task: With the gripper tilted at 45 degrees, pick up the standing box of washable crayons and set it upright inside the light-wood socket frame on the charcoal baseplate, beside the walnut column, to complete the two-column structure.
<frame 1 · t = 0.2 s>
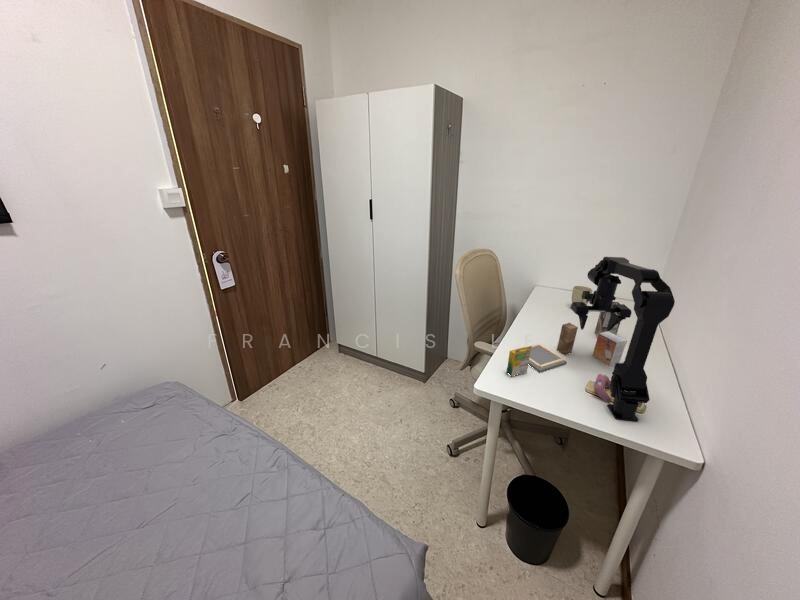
hand: (594, 330, 124), 15 cm above the table, tool pointing down, fingers open, 9 cm apart
walnut column: (563, 351, 137), on the table
baseplate: (538, 359, 132), on the table
crayon box: (516, 373, 123), on the table
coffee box: (603, 338, 149), on the table
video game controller: (602, 393, 114), on the table
small box: (605, 360, 133), on the table
mug: (578, 311, 176), on the table
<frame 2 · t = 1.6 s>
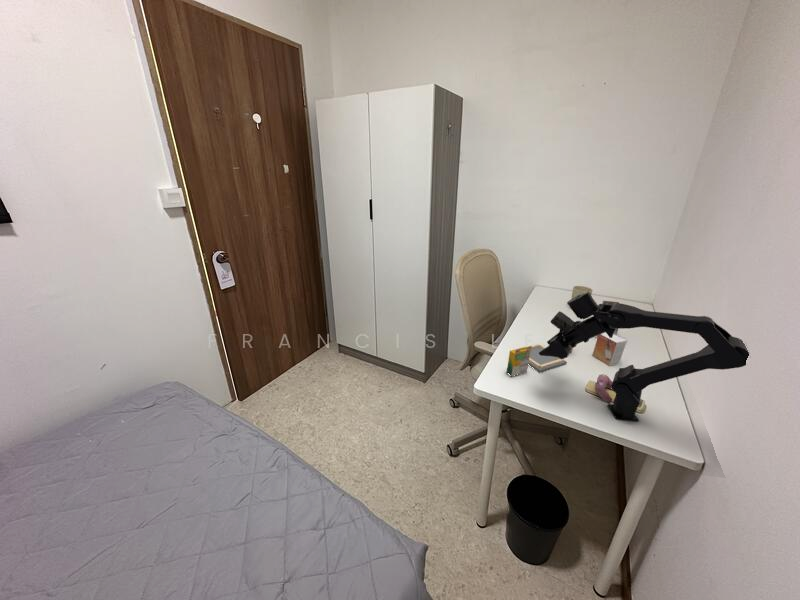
hand: (543, 348, 114), 13 cm above the table, tool tilted 45°, fingers open, 9 cm apart
nothing on the table moved.
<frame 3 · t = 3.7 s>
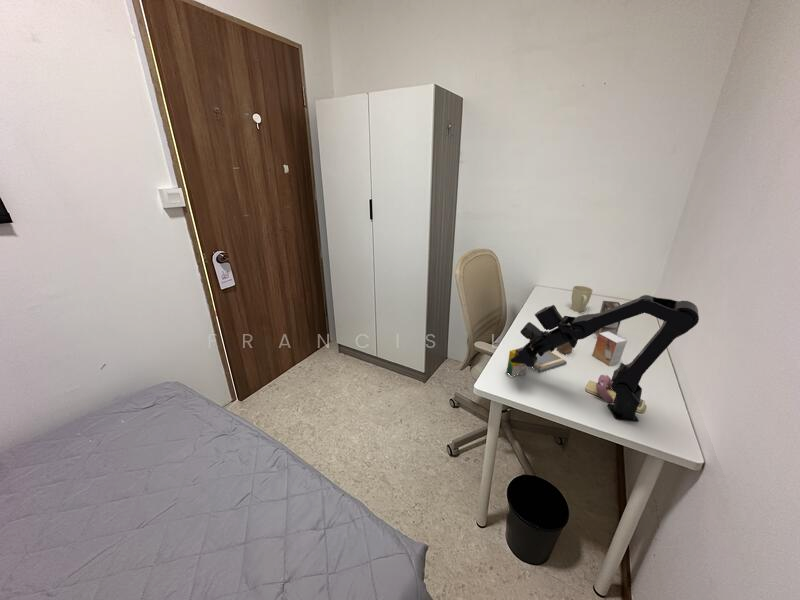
hand: (515, 356, 121), 7 cm above the table, tool tilted 45°, fingers closed on crayon box, 8 cm apart
crayon box: (516, 373, 123), on the table, touching gripper
everything else where it was.
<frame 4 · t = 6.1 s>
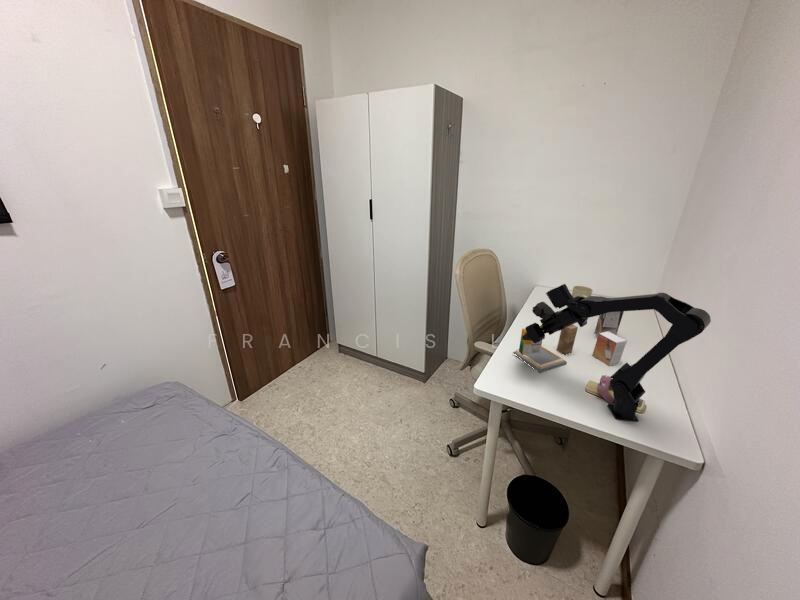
hand: (528, 335, 124), 12 cm above the table, tool tilted 45°, fingers closed on crayon box, 7 cm apart
crayon box: (529, 352, 126), point 5 cm above the table, touching gripper
when the fingers open (9 cm above the table, at t = 8.0 s): crayon box drops 1 cm, resting on baseplate.
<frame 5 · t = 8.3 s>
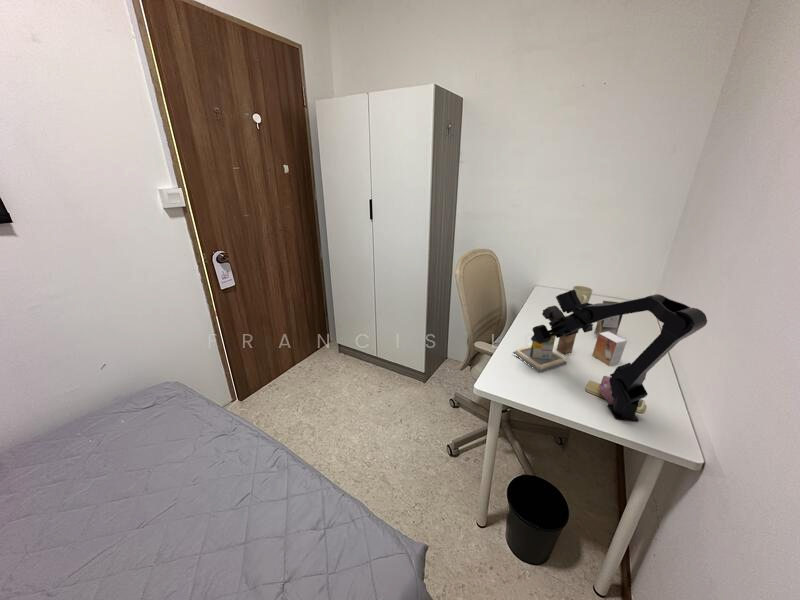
hand: (540, 337, 129), 9 cm above the table, tool tilted 45°, fingers open, 9 cm apart
crayon box: (540, 357, 131), point 1 cm above the table, touching baseplate
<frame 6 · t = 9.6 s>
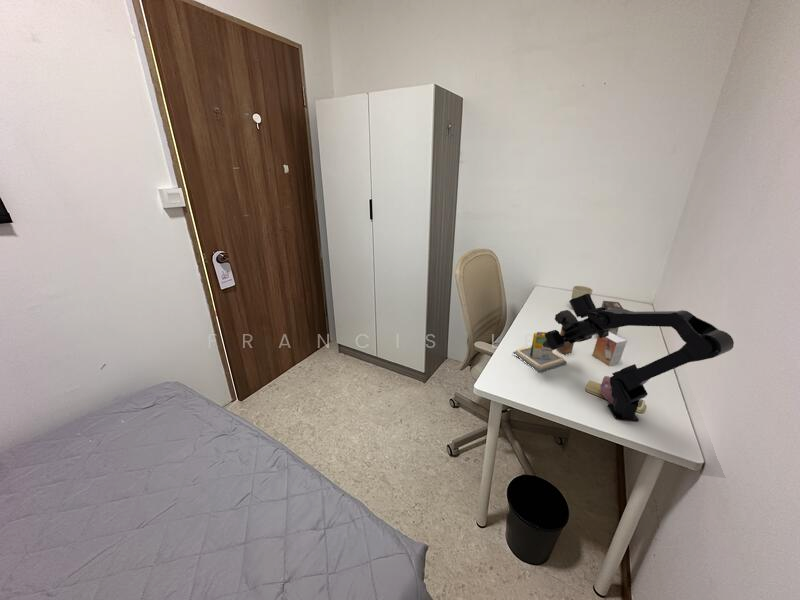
hand: (552, 342, 125), 10 cm above the table, tool tilted 45°, fingers open, 9 cm apart
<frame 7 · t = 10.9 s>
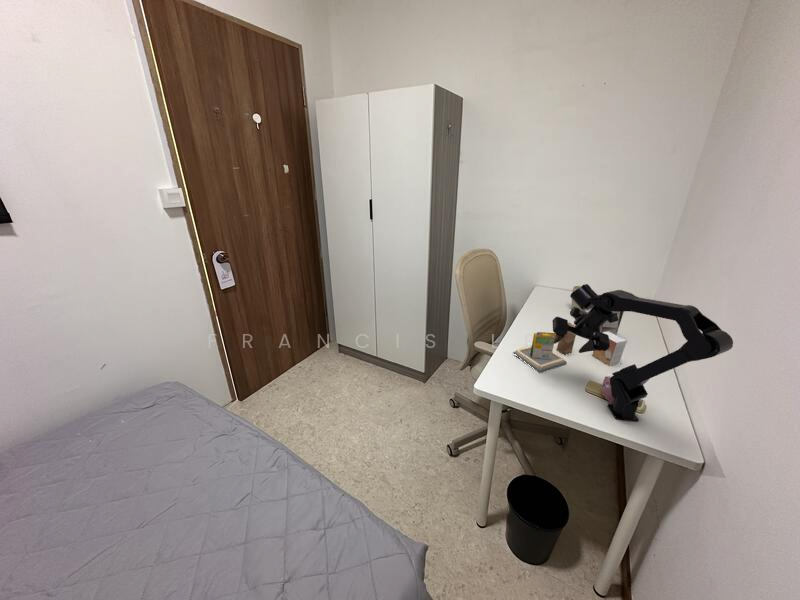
hand: (566, 347, 119), 11 cm above the table, tool tilted 25°, fingers open, 9 cm apart
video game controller: (609, 395, 112), on the table, touching arm
everything else where it was.
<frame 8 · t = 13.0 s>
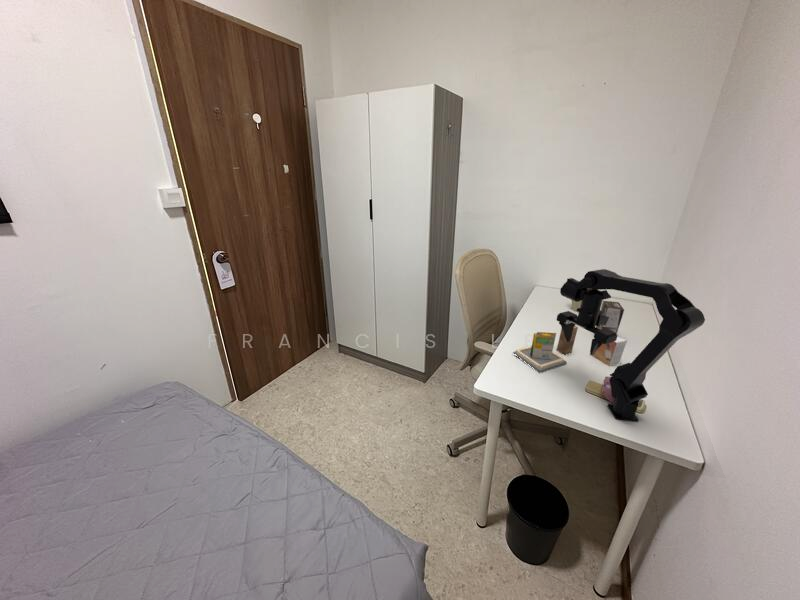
hand: (579, 348, 115), 13 cm above the table, tool pointing down, fingers open, 9 cm apart
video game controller: (609, 395, 112), on the table
everything else where it was.
at the end: crayon box 0.2 cm off-centre on the baseplate, point 1.0 cm above the baseplate's base; crayon box tilted 0°; the gripper is holding nothing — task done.
